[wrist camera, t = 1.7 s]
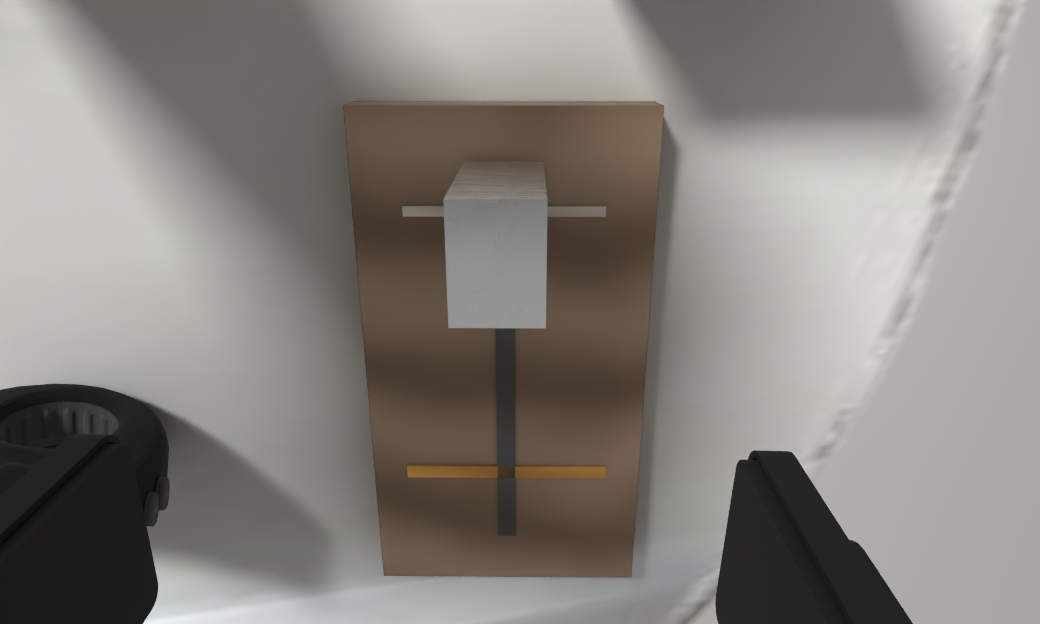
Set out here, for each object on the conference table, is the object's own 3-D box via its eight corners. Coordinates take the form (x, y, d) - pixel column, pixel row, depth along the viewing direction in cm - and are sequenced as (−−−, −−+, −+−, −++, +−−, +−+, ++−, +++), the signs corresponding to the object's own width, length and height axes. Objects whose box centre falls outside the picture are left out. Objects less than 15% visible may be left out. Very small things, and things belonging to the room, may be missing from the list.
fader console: (355, 101, 28) (342, 105, 26) (654, 101, 28) (664, 106, 26) (391, 548, 36) (383, 577, 34) (625, 549, 36) (631, 578, 34)
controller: (213, 470, 35) (98, 628, 25) (-46, 421, 34) (-263, 566, 25) (219, 394, 33) (99, 532, 24) (-52, 341, 32) (-286, 462, 23)
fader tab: (463, 161, 27) (443, 199, 20) (542, 161, 27) (547, 199, 20) (467, 262, 28) (448, 328, 22) (541, 262, 28) (545, 328, 22)
